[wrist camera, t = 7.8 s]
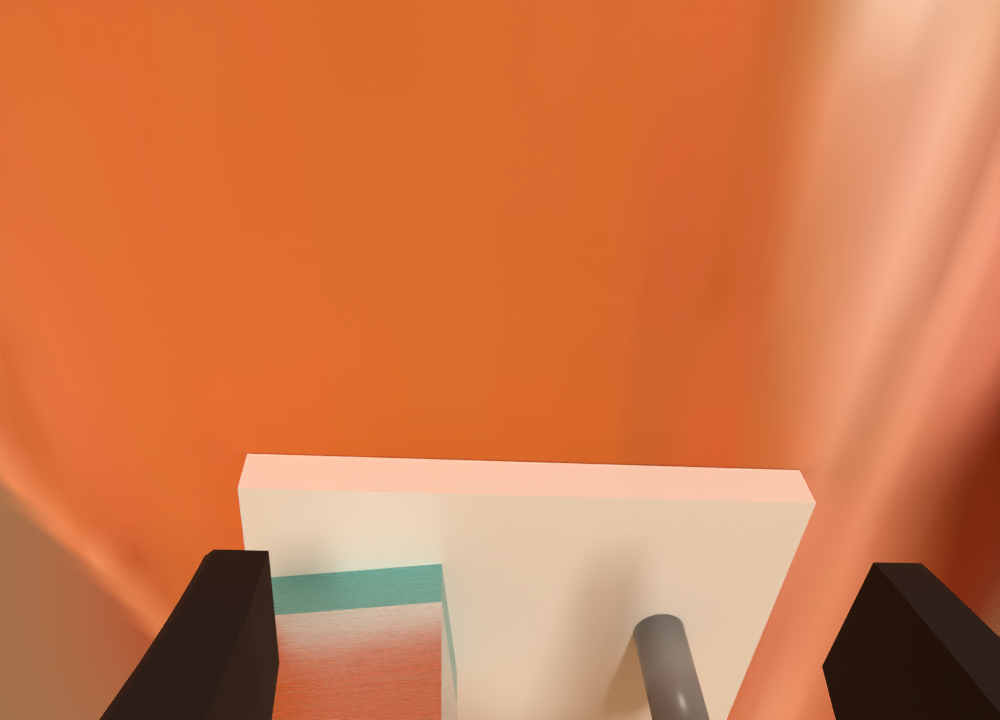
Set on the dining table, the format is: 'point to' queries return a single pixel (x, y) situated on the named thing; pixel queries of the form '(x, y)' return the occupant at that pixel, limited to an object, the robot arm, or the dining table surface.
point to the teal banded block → (364, 646)
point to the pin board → (555, 569)
